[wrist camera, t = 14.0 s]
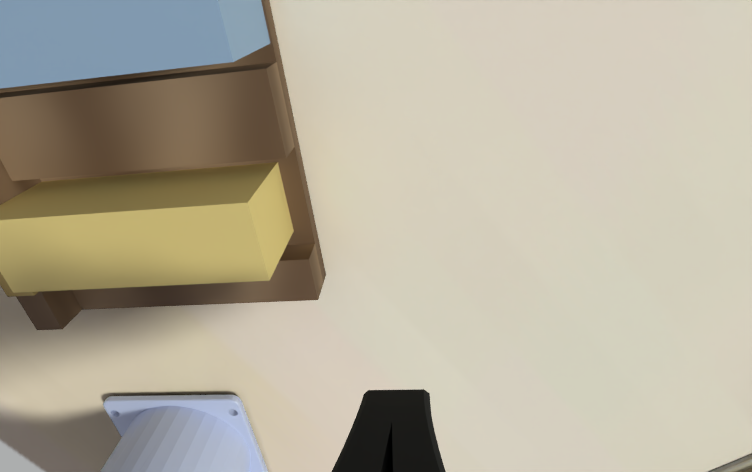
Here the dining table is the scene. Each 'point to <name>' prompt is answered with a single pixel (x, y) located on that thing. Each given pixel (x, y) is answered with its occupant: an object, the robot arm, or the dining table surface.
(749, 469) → the toy food set
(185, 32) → the stick blue
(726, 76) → the dining table surface
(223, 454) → the robot arm
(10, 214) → the stick ochre
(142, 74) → the comb board
